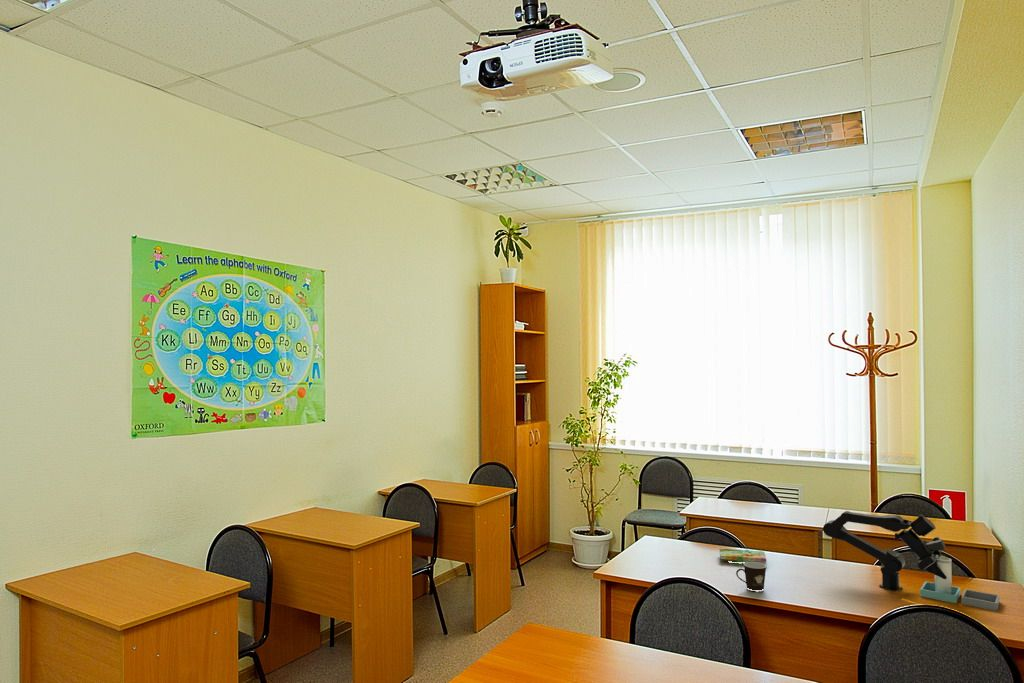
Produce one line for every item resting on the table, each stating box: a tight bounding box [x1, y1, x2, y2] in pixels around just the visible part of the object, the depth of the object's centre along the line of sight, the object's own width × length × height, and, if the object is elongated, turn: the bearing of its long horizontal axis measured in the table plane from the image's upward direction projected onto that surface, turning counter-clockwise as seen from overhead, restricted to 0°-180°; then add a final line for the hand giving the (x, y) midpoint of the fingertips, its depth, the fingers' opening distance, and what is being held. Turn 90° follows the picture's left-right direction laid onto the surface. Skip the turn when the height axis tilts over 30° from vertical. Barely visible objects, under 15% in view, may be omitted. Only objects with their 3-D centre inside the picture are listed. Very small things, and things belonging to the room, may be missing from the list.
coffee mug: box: [735, 562, 767, 590], centre depth 278 cm, size 12×9×10 cm
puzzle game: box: [719, 548, 767, 565], centre depth 316 cm, size 12×5×20 cm
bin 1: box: [919, 581, 962, 604], centre depth 268 cm, size 12×12×4 cm
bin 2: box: [960, 588, 1001, 612], centre depth 260 cm, size 11×11×4 cm
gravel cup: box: [934, 555, 953, 594], centre depth 268 cm, size 6×6×14 cm
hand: (947, 576), depth 267 cm, fingers closed on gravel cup, 6 cm apart
